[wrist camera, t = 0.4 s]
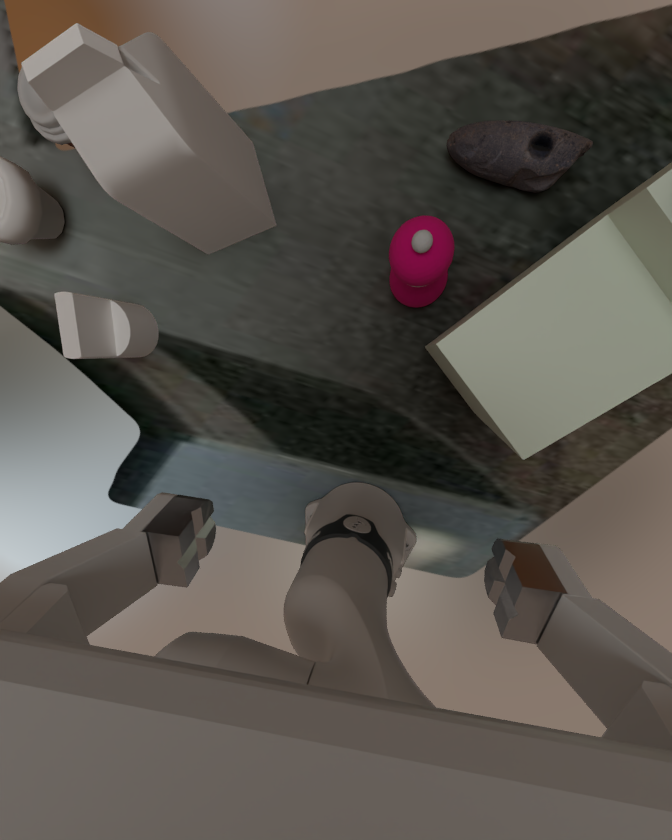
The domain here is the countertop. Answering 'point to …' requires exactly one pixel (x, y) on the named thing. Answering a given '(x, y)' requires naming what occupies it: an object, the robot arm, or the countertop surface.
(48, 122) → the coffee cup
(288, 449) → the countertop surface
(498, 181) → the perforated stone tool
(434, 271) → the pepper mill
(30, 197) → the potted plant
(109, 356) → the cylinder with rectangular tab
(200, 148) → the milk
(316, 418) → the countertop surface
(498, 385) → the block
